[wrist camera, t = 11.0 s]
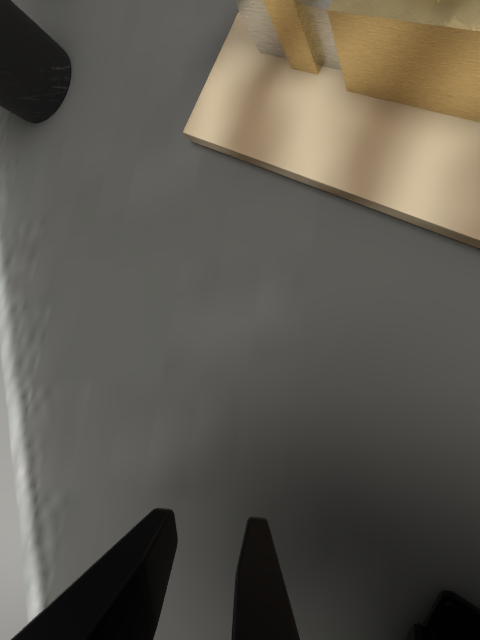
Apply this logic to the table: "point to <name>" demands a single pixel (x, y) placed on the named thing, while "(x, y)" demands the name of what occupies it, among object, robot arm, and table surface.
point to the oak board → (341, 139)
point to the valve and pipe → (380, 46)
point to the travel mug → (30, 66)
